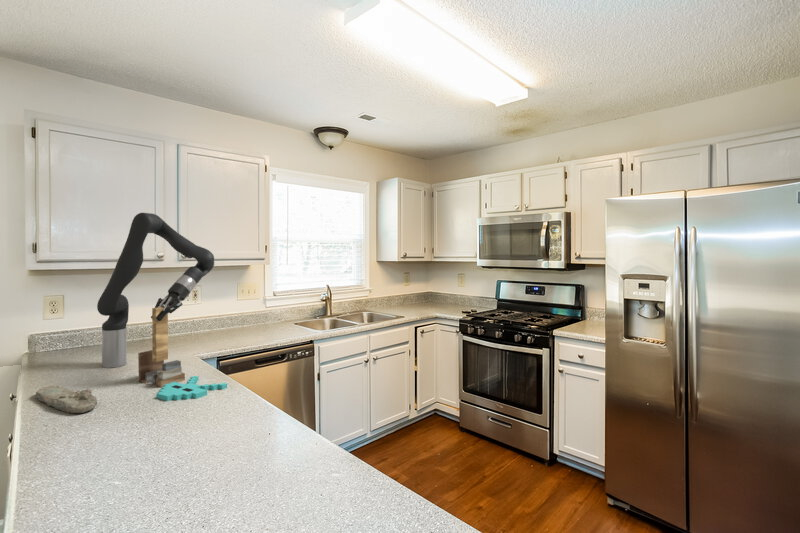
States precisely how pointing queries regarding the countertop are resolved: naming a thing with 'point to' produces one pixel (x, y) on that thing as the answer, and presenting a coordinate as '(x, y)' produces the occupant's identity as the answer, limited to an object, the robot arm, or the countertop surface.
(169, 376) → the offcut stack
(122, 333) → the robot arm
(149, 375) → the rack
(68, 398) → the elongated rock
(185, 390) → the alien figure
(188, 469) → the countertop surface
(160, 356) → the tall panel
